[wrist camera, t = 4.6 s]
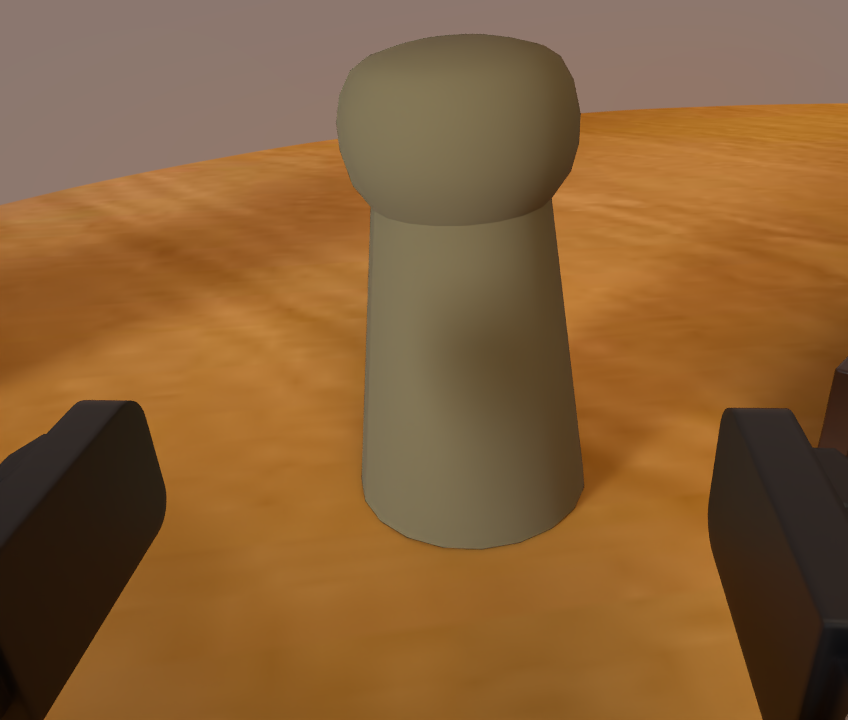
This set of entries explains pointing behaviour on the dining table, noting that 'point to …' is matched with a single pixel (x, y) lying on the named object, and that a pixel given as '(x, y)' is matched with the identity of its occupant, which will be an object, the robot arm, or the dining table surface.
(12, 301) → the dining table surface
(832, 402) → the compartment tray
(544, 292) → the pawn
